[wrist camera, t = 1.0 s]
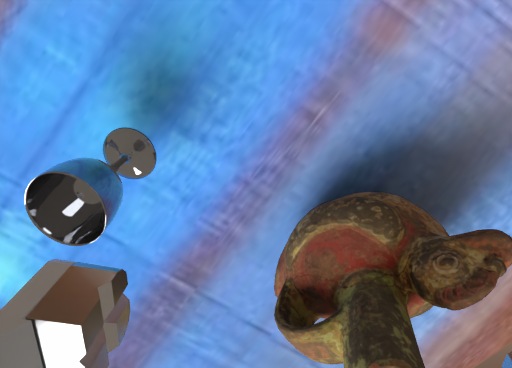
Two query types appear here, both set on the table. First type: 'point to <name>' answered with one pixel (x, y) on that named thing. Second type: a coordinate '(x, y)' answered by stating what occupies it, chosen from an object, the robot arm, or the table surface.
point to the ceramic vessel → (377, 278)
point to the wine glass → (88, 189)
